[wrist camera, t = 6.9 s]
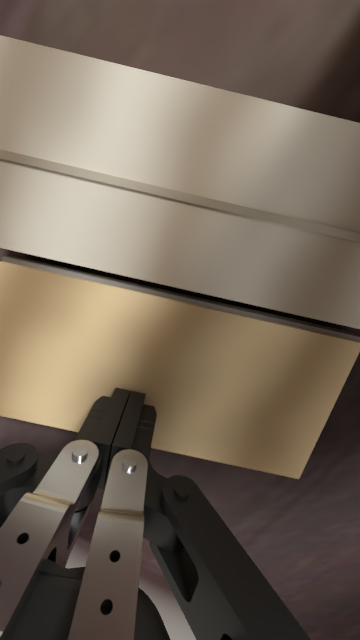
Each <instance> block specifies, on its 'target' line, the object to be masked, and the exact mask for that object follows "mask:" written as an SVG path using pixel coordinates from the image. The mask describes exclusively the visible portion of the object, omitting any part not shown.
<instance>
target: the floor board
mask: <svg viewBox="0 0 360 640" xmlns="http://www.w3.org/2000/svg"><path fill="white" fill-rule="evenodd" d="M0 248H3V249H8V250H12V251H16V252H21V253H25V254H30V255H34V256H38V257H43V258H47V259H52V260H56V261H61V262H65V263H69V264H74V265H78V266H83V267H87V268H91V269H96V270H100V271H105V272H109V273H114V274H118V275H122V276H127V277H131V278H136V279H140V280H145V281H149V282H153V283H158V284H162V285H167V286H171V287H175V288H180V289H184V290H189V291H193V292H198V293H202V294H206V295H211V296H215V297H220V298H224V299H228V300H233V301H237V302H242V303H246V304H251V305H255V306H259V307H264V308H268V309H273V310H277V311H281V312H286V313H290V314H295V315H299V316H304V317H308V318H312V319H317V320H321V321H326V322H330V323H335V324H339V325H343V326H348V327H352V328H357V329H360V123H358V122H353V121H349V120H345V119H341V118H337V117H333V116H329V115H325V114H321V113H317V112H312V111H308V110H304V109H300V108H296V107H292V106H288V105H284V104H280V103H276V102H271V101H267V100H263V99H259V98H255V97H251V96H247V95H243V94H239V93H235V92H230V91H226V90H222V89H218V88H214V87H210V86H206V85H202V84H198V83H194V82H189V81H185V80H181V79H177V78H173V77H169V76H165V75H161V74H157V73H153V72H148V71H144V70H140V69H136V68H132V67H128V66H124V65H120V64H116V63H112V62H107V61H103V60H99V59H95V58H91V57H87V56H83V55H79V54H75V53H71V52H66V51H62V50H58V49H54V48H50V47H46V46H42V45H38V44H34V43H30V42H25V41H21V40H17V39H13V38H9V37H5V36H1V35H0Z"/></svg>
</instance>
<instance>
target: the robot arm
mask: <svg viewBox="0 0 360 640" xmlns="http://www.w3.org/2000/svg"><path fill="white" fill-rule="evenodd" d="M130 393H131V394H130ZM145 397H146V394H145V393H141V392H136V391H131V390H126V389H121V388H115V390H114V393H113V395H112V397H107V396H101V397H100V398H99V399H97V400H96V401H95V402H94V404H93V406H92V408H91V410H90V411H89V413H88V415H87V417H86V419H85V421H84V423H83V425H82V427H81V428H80V430H79V432H78V434H77V436H76V438H75V440H74V441H73V442H70V443H69V444H67V445H66V446H65V447H64V448H63V449H62V451H59V452H56V453H47V454H38V453H37V450H36V449H35V447H33V446H32V445H30V444H26V443H17V444H12V445H9V446H7V447H5V448H2V449H0V640H170V638H169V635H168V633H167V631H166V628H165V626H164V623H163V621H162V619H161V616H160V614H159V612H158V610H157V608H156V607H155V605H154V603H153V602H152V601H151V599H150V598H149V597H148V596H147V595H146V594H145V593H144V591H142V590H141V589H140V588H139V587H138V585H139V575H140V563H141V552H142V541H143V537H144V538H146V539H147V540H149V541H150V547H151V549H152V552H153V554H154V556H155V558H156V560H157V562H158V564H159V566H160V568H161V570H162V572H163V574H164V576H165V578H166V580H167V582H168V584H169V586H170V587H171V590H172V591H173V593H174V596H175V598H176V600H177V601H178V603H179V605H180V607H181V609H182V611H183V613H184V615H185V617H186V619H187V621H188V623H189V625H190V627H191V629H192V631H193V633H194V635H195V637H196V639H197V640H311V639H310V638H309V637H308V635H307V634H306V633H305V631H304V630H303V629H302V627H301V626H300V625H299V623H298V622H297V620H296V619H295V618H294V616H293V615H292V614H291V612H290V611H289V610H288V608H287V607H286V606H285V604H284V603H283V601H282V600H281V599H280V597H279V596H278V595H277V593H276V592H275V591H274V589H273V588H272V587H271V585H270V584H269V583H268V581H267V580H266V578H265V577H264V576H263V574H262V573H261V572H260V570H259V569H258V568H257V566H256V565H255V564H254V562H253V561H252V559H251V558H250V557H249V555H248V554H247V553H246V551H245V550H244V549H243V547H242V546H241V545H240V543H239V542H238V541H237V539H236V538H235V536H234V535H233V534H232V532H231V531H230V530H229V528H228V527H227V526H226V524H225V523H224V522H223V520H222V519H221V517H220V516H219V515H218V513H217V512H216V511H215V509H214V508H213V507H212V505H211V504H210V503H209V501H208V500H207V499H206V497H205V496H204V494H203V493H202V492H201V490H200V489H199V488H198V486H197V485H196V484H195V483H194V482H193V481H192V480H191V479H190V478H188V477H185V476H181V475H175V476H172V477H170V478H168V479H167V478H165V477H163V476H161V475H160V474H158V473H157V472H156V471H155V470H154V469H153V468H152V466H151V464H150V461H149V454H150V449H151V444H152V438H153V433H154V428H155V422H156V417H157V413H156V410H155V407H154V406H151V405H146V404H144V402H145ZM106 479H107V480H106ZM105 482H106V486H105V492H104V496H103V500H102V505H101V508H100V510H99V513H98V517H97V521H96V525H95V529H94V533H93V538H92V542H91V546H90V550H89V554H88V559H87V563H86V567H80V568H71V569H67V568H65V567H66V564H67V561H68V558H69V555H70V553H71V551H72V548H73V546H74V544H75V541H76V539H77V537H78V535H79V532H80V530H81V528H82V526H83V523H84V521H85V519H86V516H87V514H88V512H89V510H90V507H91V503H92V500H93V498H94V495H95V492H96V490H97V488H102V489H103V488H104V485H105Z"/></svg>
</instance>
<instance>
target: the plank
mask: <svg viewBox="0 0 360 640" xmlns="http://www.w3.org/2000/svg"><path fill="white" fill-rule="evenodd" d="M359 352H360V336H359V335H358V334H357V333H354V332H350V331H345V330H341V329H336V328H332V327H327V326H323V325H319V324H314V323H310V322H305V321H301V320H296V319H292V318H288V317H283V316H279V315H274V314H270V313H265V312H261V311H257V310H252V309H248V308H243V307H239V306H234V305H230V304H226V303H221V302H217V301H212V300H208V299H203V298H199V297H195V296H190V295H186V294H181V293H177V292H172V291H168V290H164V289H159V288H155V287H150V286H146V285H141V284H137V283H133V282H128V281H124V280H119V279H115V278H111V277H106V276H102V275H97V274H93V273H88V272H84V271H80V270H75V269H71V268H66V267H62V266H57V265H53V264H49V263H44V262H40V261H35V260H31V259H26V258H22V257H18V256H13V255H8V256H3V257H2V261H1V262H0V416H4V417H9V418H13V419H18V420H23V421H27V422H32V423H37V424H41V425H46V426H51V427H56V428H60V429H65V430H70V431H74V432H79V430H80V428H81V427H82V425H83V423H84V421H85V419H86V417H87V415H88V413H89V411H90V410H91V408H92V406H93V404H94V402H95V401H96V400H97V399H99V398H100V397H101V396H107V397H112V395H113V393H114V390H115V388H121V389H126V390H131V391H136V392H141V393H145V394H146V397H145V402H144V404H146V405H151V406H154V407H155V410H156V413H157V417H156V422H155V428H154V433H153V438H152V444H151V448H154V449H159V450H164V451H169V452H173V453H178V454H183V455H187V456H192V457H197V458H202V459H206V460H211V461H216V462H220V463H225V464H230V465H234V466H239V467H244V468H249V469H253V470H258V471H263V472H267V473H272V474H277V475H282V476H286V477H291V478H296V479H299V478H300V476H301V474H302V472H303V470H304V468H305V465H306V463H307V461H308V459H309V457H310V455H311V453H312V451H313V449H314V447H315V444H316V442H317V440H318V438H319V436H320V434H321V432H322V430H323V428H324V426H325V423H326V421H327V419H328V417H329V415H330V413H331V411H332V409H333V407H334V405H335V402H336V400H337V398H338V396H339V394H340V392H341V390H342V388H343V386H344V384H345V381H346V379H347V377H348V375H349V373H350V371H351V369H352V367H353V365H354V363H355V360H356V358H357V356H358V354H359ZM130 394H131V393H130Z"/></svg>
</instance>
